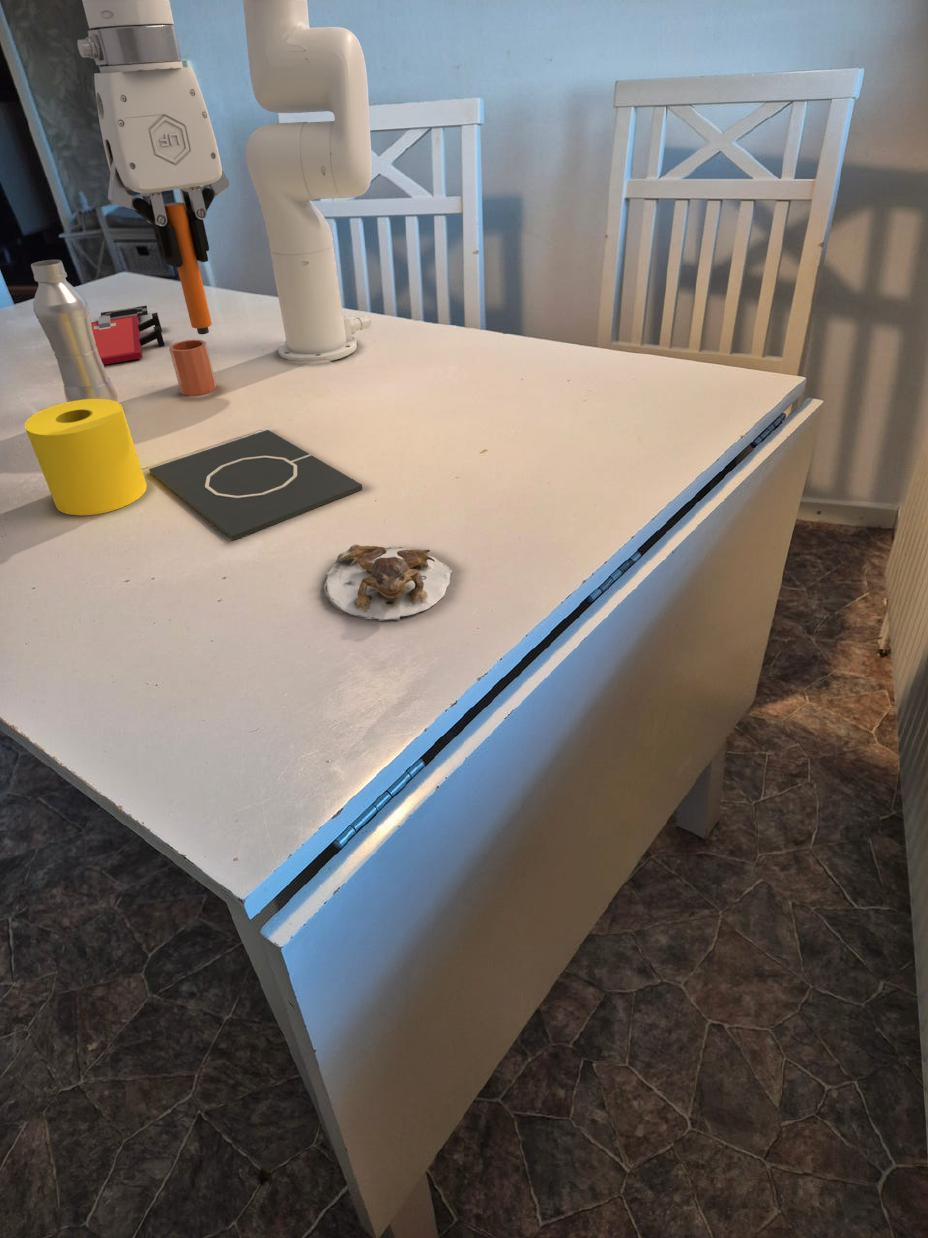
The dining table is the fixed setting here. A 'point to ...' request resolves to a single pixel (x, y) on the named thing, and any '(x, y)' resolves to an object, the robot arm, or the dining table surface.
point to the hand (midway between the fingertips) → (187, 261)
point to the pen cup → (193, 367)
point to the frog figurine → (385, 582)
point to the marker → (189, 269)
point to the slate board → (253, 483)
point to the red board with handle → (124, 334)
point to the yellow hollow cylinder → (87, 456)
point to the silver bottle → (70, 334)
